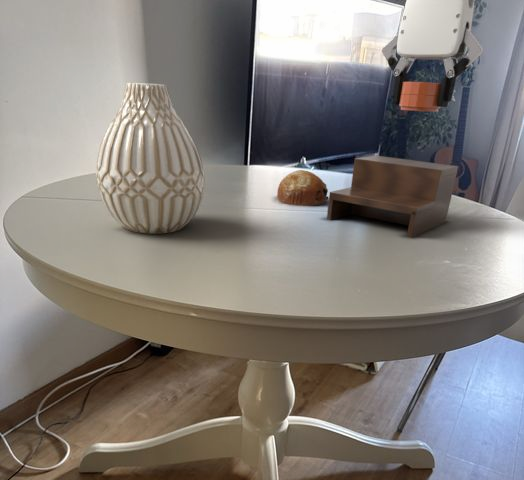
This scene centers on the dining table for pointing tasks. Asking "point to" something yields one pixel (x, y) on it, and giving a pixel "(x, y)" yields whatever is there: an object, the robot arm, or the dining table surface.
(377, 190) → the shelf
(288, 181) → the bread roll
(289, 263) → the dining table surface
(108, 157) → the vase
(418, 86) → the bowl
